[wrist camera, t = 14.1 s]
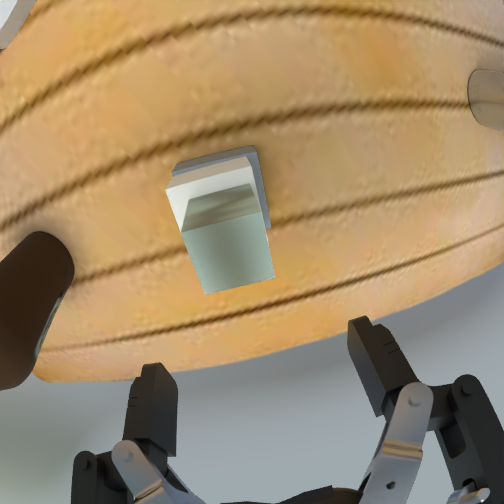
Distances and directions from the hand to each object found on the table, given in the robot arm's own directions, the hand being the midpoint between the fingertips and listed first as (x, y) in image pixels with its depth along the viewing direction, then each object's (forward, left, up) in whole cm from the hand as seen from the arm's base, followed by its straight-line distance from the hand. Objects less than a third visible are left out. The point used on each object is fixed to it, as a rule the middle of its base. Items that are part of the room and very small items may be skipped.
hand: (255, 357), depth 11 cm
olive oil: (+27, +2, -22) cm, 35 cm away
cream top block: (+1, 0, -18) cm, 18 cm away
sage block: (+1, 0, -14) cm, 14 cm away
